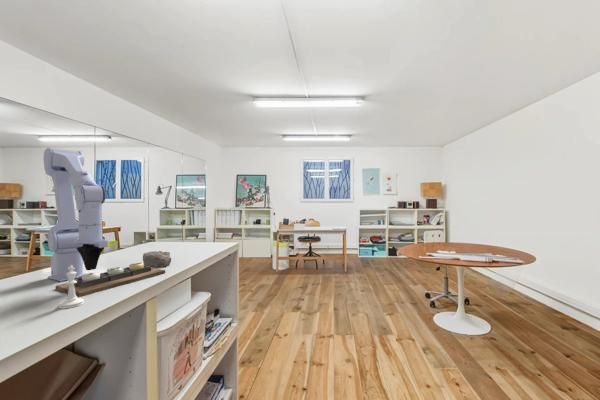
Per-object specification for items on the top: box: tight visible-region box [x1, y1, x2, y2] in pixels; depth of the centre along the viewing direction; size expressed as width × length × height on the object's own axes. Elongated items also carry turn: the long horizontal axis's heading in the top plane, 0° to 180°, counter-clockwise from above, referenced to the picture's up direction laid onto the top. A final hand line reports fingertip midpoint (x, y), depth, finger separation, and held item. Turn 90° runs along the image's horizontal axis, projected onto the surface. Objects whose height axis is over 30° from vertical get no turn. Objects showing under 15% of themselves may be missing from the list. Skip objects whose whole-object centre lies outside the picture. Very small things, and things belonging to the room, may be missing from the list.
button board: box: [55, 265, 166, 297], centre depth 89 cm, size 14×26×3 cm, turn 153°
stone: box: [142, 250, 172, 268], centre depth 109 cm, size 8×10×6 cm
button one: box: [81, 271, 101, 281], centre depth 83 cm, size 4×4×3 cm
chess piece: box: [58, 265, 85, 310], centre depth 69 cm, size 5×5×10 cm
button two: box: [106, 266, 124, 275], centre depth 89 cm, size 4×4×3 cm
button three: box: [128, 262, 144, 270], centre depth 95 cm, size 4×4×3 cm
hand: (91, 269), depth 83 cm, fingers closed
